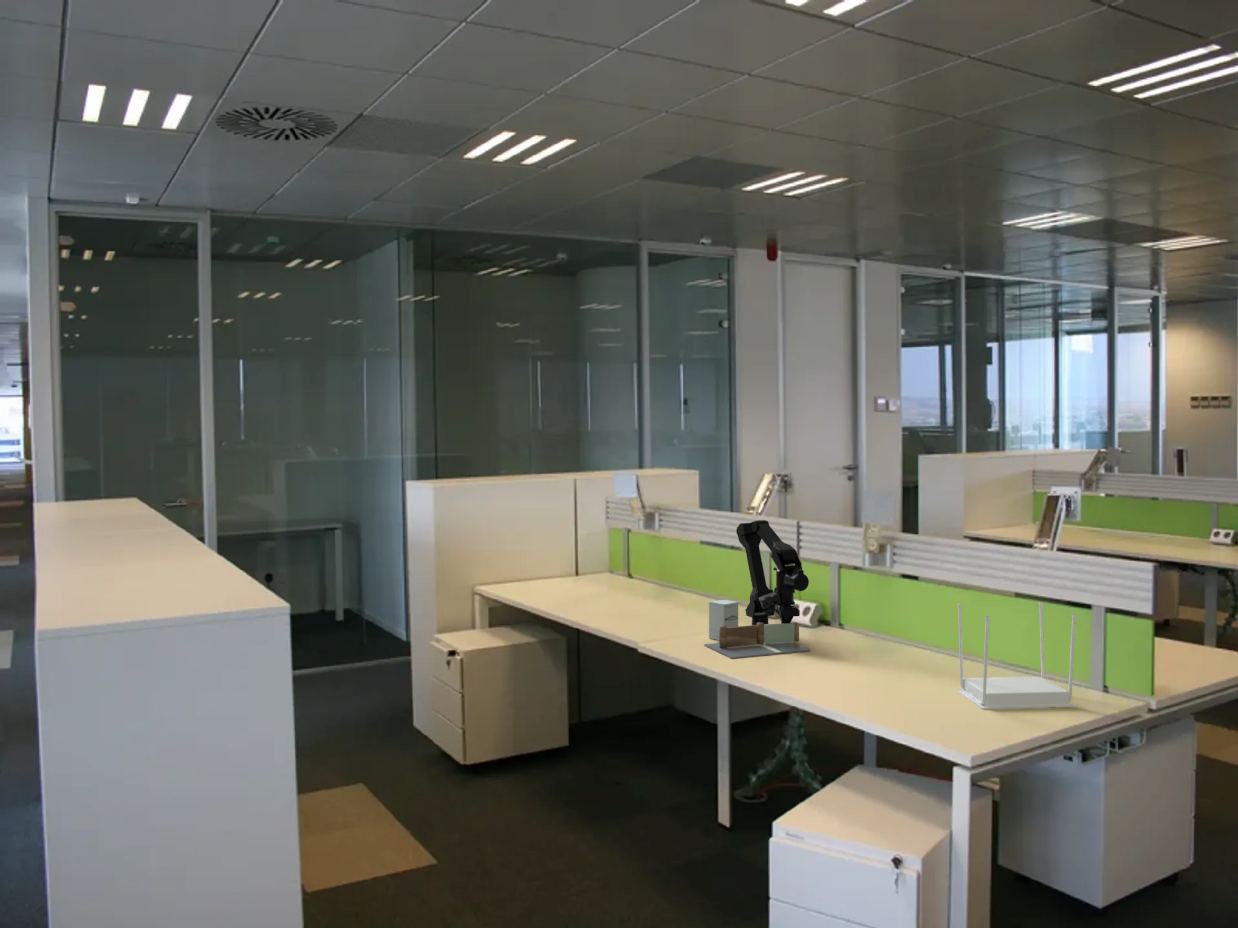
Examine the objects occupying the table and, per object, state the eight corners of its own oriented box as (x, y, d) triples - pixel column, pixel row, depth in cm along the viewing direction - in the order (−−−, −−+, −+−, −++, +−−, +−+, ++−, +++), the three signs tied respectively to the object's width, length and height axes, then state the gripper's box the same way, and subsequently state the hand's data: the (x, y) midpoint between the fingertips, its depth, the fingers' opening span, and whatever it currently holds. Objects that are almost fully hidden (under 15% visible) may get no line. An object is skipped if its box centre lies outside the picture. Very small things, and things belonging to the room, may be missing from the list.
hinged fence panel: (763, 642, 340) (763, 624, 339) (797, 640, 342) (797, 622, 342) (765, 643, 338) (765, 625, 337) (800, 641, 340) (800, 623, 340)
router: (1077, 708, 264) (1078, 615, 263) (982, 710, 262) (983, 617, 261) (1042, 688, 283) (1043, 601, 282) (953, 690, 282) (954, 603, 281)
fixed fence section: (718, 647, 334) (718, 625, 334) (761, 643, 340) (761, 622, 340) (721, 648, 332) (721, 627, 332) (765, 644, 338) (765, 623, 337)
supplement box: (723, 641, 345) (723, 604, 345) (708, 638, 351) (708, 601, 350) (739, 638, 350) (739, 601, 349) (723, 634, 356) (723, 598, 355)
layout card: (704, 645, 339) (704, 643, 339) (779, 638, 349) (779, 636, 349) (731, 658, 320) (731, 656, 320) (809, 651, 330) (809, 649, 330)
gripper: (756, 580, 350) (756, 625, 352) (765, 591, 332) (765, 639, 333) (788, 579, 351) (788, 624, 352) (800, 591, 332) (800, 638, 333)
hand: (784, 631), depth 343 cm, fingers closed
